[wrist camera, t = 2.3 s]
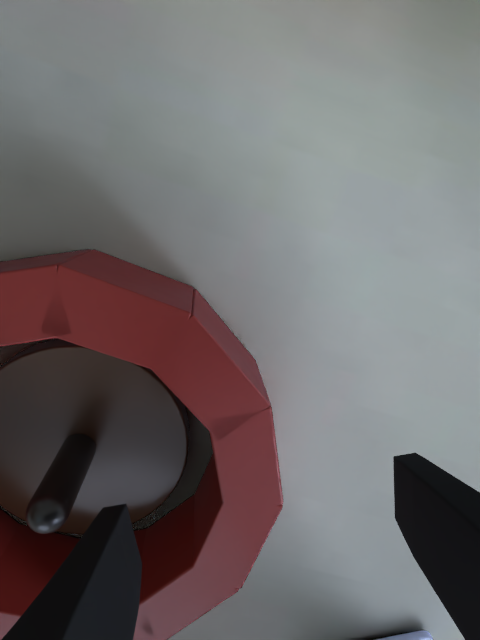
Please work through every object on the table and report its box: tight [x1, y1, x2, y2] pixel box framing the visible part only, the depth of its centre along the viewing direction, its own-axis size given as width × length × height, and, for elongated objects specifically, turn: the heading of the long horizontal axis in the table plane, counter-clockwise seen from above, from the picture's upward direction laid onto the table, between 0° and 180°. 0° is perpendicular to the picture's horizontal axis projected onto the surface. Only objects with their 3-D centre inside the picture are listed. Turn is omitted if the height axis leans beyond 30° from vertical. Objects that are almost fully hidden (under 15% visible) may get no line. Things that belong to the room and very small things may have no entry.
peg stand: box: [0, 339, 189, 534], centre depth 14 cm, size 8×8×5 cm
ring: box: [0, 249, 283, 640], centre depth 14 cm, size 14×14×4 cm
